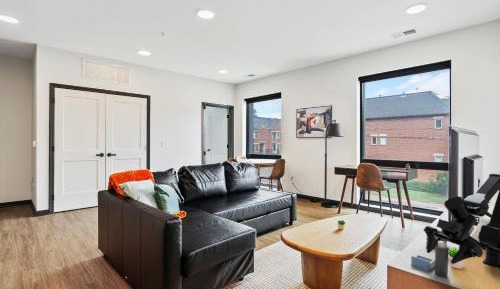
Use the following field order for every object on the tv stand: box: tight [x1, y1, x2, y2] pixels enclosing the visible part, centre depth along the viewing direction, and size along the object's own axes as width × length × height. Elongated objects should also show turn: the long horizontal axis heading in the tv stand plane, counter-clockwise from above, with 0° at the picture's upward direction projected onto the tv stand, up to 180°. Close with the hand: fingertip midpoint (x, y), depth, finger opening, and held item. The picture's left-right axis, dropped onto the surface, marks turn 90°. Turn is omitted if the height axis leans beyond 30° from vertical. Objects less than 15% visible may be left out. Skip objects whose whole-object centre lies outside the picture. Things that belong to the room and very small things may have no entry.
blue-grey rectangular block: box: [410, 248, 435, 272], centre depth 111 cm, size 18×6×4 cm, turn 129°
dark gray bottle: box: [434, 241, 450, 279], centre depth 100 cm, size 4×4×12 cm
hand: (439, 257), depth 99 cm, fingers open, 9 cm apart
